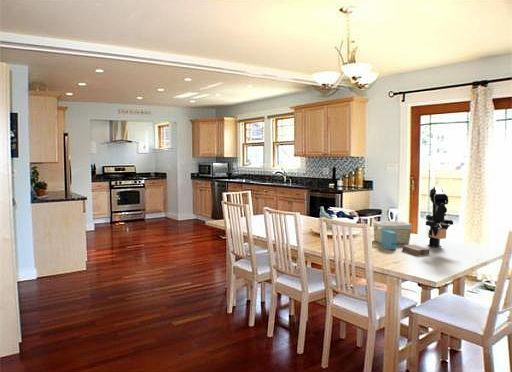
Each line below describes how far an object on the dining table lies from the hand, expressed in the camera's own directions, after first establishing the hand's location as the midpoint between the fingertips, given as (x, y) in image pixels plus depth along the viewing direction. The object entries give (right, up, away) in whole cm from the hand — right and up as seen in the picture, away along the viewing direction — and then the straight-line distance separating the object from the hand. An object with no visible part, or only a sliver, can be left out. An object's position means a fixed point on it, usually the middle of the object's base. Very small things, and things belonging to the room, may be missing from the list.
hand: (438, 235), depth 264 cm
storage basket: (-19, -9, +35) cm, 41 cm away
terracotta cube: (0, -1, 0) cm, 1 cm away
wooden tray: (-14, -12, +3) cm, 19 cm away
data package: (-28, -11, +16) cm, 34 cm away
